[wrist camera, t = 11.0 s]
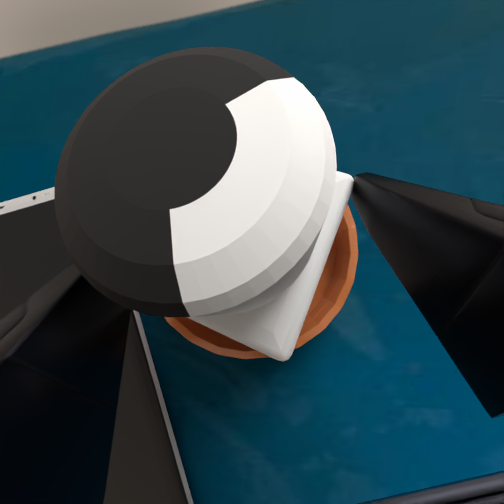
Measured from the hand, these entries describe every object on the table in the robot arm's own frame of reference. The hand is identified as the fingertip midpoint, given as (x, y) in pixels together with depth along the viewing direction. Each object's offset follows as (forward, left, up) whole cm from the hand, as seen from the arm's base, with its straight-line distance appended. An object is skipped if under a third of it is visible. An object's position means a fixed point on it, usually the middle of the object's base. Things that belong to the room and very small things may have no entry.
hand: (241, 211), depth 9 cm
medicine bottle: (-2, 0, -7) cm, 7 cm away
